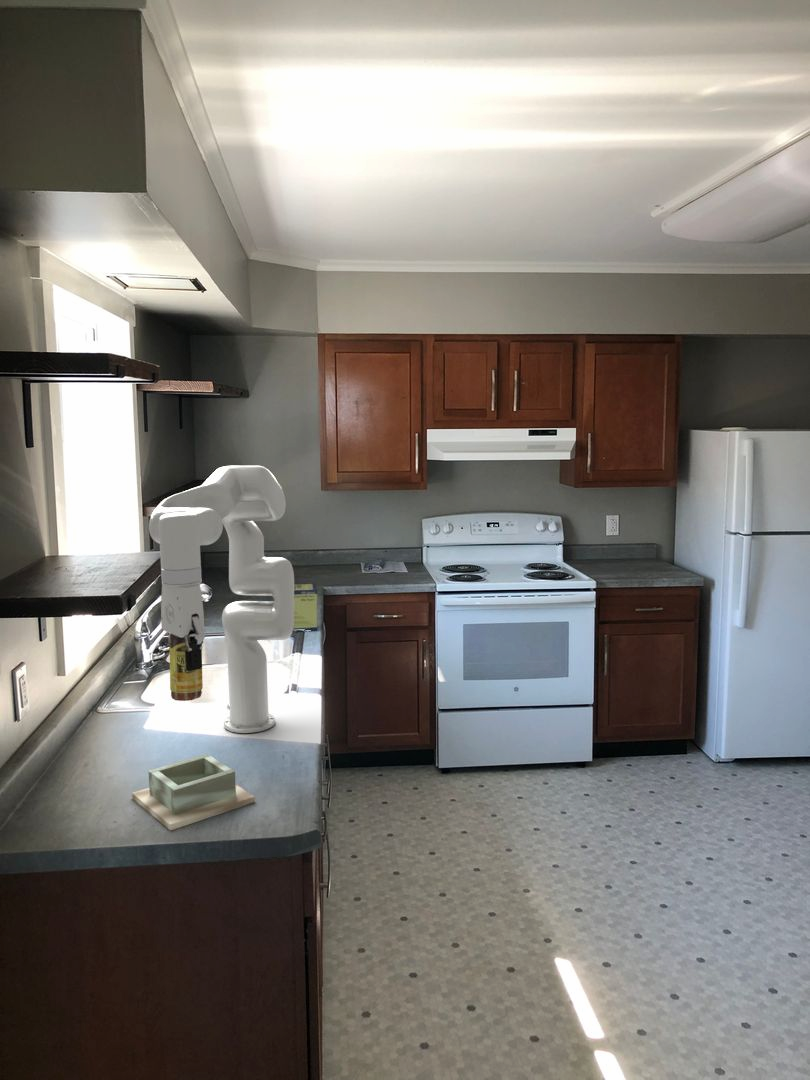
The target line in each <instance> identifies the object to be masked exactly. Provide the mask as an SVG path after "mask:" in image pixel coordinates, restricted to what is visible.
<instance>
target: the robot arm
mask: <svg viewBox="0 0 810 1080" xmlns="http://www.w3.org/2000/svg"><path fill="white" fill-rule="evenodd" d="M286 503H287V502H286V497H285V493H284V490H283V488H282V486H281V485H280V483H279V482H278V481H277V479H276V477H275V476H274V474H273V473H272V472H271V471H270V470H269V469H268V468H266V467H265V466H263V465H262V466H261V465H226V466H221V467H218V468H217V469H216V470H215V471H214V472H212V474H211V475H210V476H209V477H208V478H206V480H205V481H204V482H203V483H202V484H201V485H199V486H196V487H193V488H190V489H188V490H185V491H184V490H183V491H182V492H179V493H175V494H173V495H171V496H168V497H167V498H164V499H163V500H162V501H160V503H159V504H158V505H157V506H156V508H154V510H153V512H152V513H151V515H150V518H149V521H148V522H149V523H148V531H149V535H150V537H151V539H152V540H153V541H154V542H156V543H157V544H159V553H160V555H159V556H160V557H159V558H160V573H161V575H160V577H161V594H160V595H161V596H160V599H161V600H160V605H161V606H160V611H161V612H160V614H161V615H160V618H161V619H160V620H161V624H160V625H161V628H162V630H163V631H165V632H166V633H167V635H168V636H167V637H168V638H167V642H168V643H169V644H168V646H169V650H170V634H173V635H175V636H177V637H180V638H183V637H184V639H185V643H186V648H187V651H185V663H186V670H187V671H192V670H197V669H201V668H202V669H203V643H204V639H205V638H206V632H205V631H204V630H205V617H204V603H203V597H202V589H201V584H202V565H201V563H202V560H201V559H202V558H201V546H208V545H211V544H214V543H215V542H217V541H218V540H219V538H220V537H221V535H222V533H223V528H224V529H225V530H226V533H227V537H228V543H229V545H228V547H229V549H228V551H229V553H228V583H229V588H230V591H231V592H232V593H233V594H235V595H239V596H255V597H258V596H262V597H263V596H264V597H265V596H267V597H269V596H271V597H272V598H273V600H269V601H267V600H265V601H264V600H261V601H260V600H239V601H233V602H231V603H229V604H227V605H226V606H225V607H224V608H223V610H222V615H221V624H222V630H223V633H224V638H225V644H226V656H227V676H228V699H229V703H228V704H227V705H226V709H227V710H229V716H228V717H227V718H226V719H224V722H223V727H224V729H225V730H227V731H229V732H232V733H236V734H252V733H258V732H262V731H266V730H268V729H270V728H272V727H273V726H274V725H275V723H276V717H275V716H274V715H272V714H271V713H269V691H268V687H269V686H268V664H267V662H268V659H267V654H266V652H265V650H264V647H263V646H262V645H261V644H260V642H259V641H284V640H287V639H289V638H290V637H291V636H292V634H293V633H294V632H293V627H294V585H295V574H294V568H293V566H292V563H291V561H290V560H288V559H287V558H284V557H282V556H281V557H279V556H278V557H277V556H275V557H274V556H268V557H267V556H265V537H264V534H263V533H262V531H261V529H260V528H259V526H258V525H257V524H256V522H274V521H275V522H276V521H278V520H280V519H281V518H282V517H283V516H284V514H285V511H286V505H287V504H286ZM191 631H194V632H195V633H194V634H189V632H191ZM188 634H189V635H188ZM193 637H195V639H193V640H192V642H190V638H193ZM201 649H202V651H201Z"/></svg>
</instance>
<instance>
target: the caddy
mask: <svg viewBox="0 0 810 1080" xmlns="http://www.w3.org/2000/svg"><path fill="white" fill-rule="evenodd" d="M147 772H148V784H149V785H148V787H147V788H144V789H141V790H140V789H139V790H137V791H133V792H131V799H132V798H133V799H132V800H134V801H135V802H136V803H137V804H138V805H139V806H140V807H142V808H143V809H144V810H145V811H146V812H147V813H149V814H150V815H151V816H152V817H153V818H155V819H156V820H157V821H159V823H161V824H162V825H163V826H164V827H165V828H166V829H168V830H169V831H173V830H176V829H179V828H182V827H186V826H188V825H191V824H193V823H197V822H200V821H203V820H206V819H208V818H212V817H214V816H217V815H221V814H223V813H227V812H229V811H232V810H235V809H239V808H241V807H245V806H248V805H250V803H251V804H254V803H255V796H254V795H253V794H252V793H250V792H248V791H247V790H245V789H244V788H242V787H241V786H239V785H238V784H236V771H235V770H233V769H232V768H231V767H228V766H227V765H225V764H224V763H222V762H221V761H219V760H218V759H216V758H214V757H213V756H212V755H210V754H208V753H206V754H203V755H199V756H195V757H191V758H189V759H185V760H182V761H178V762H174V763H171V764H167V765H163V766H160V767H157V768H156V767H155V768H153V769H150V770H148V771H147ZM253 802H254V803H253Z"/></svg>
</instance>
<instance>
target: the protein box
mask: <svg viewBox="0 0 810 1080" xmlns="http://www.w3.org/2000/svg"><path fill="white" fill-rule="evenodd" d="M318 623H319V622H318V589H317V584H316V583H306V584H303V583H301V584H294V627H293V629H305V630H311V631H310V632H318Z"/></svg>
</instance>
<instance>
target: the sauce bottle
mask: <svg viewBox="0 0 810 1080" xmlns="http://www.w3.org/2000/svg"><path fill="white" fill-rule="evenodd" d="M194 633H195V632H194V631H191V632H189V634H194ZM189 634H188V635H189ZM193 639H195V637H193V638H190V642H192V640H193ZM169 644H170V649H169V689H170V697H171V699H173V700H174V701H179V702H180V701H181V702H182V701H183V702H185V701H194V700H196V699H199V698H201V697H202V693H203V691H202V690H203V667H202V668H201V669H197V670H192V671H187V670H186V663H185V651H187V648H186V643H185V639H184V637H183V638H180V637H177V636H175V635H173V634H170V643H169ZM201 651H202V652H203V648H202V649H201Z"/></svg>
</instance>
